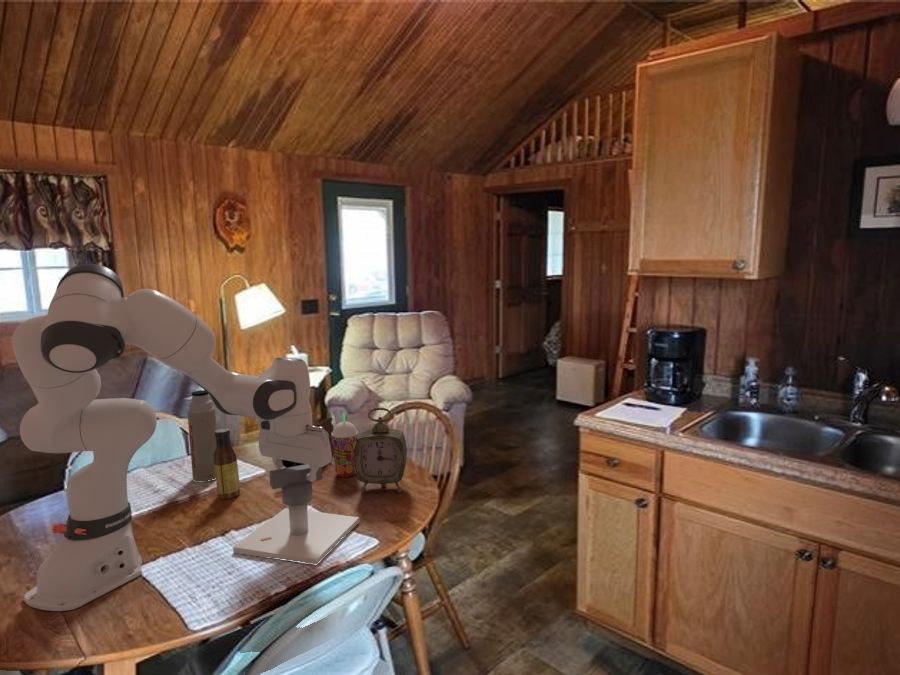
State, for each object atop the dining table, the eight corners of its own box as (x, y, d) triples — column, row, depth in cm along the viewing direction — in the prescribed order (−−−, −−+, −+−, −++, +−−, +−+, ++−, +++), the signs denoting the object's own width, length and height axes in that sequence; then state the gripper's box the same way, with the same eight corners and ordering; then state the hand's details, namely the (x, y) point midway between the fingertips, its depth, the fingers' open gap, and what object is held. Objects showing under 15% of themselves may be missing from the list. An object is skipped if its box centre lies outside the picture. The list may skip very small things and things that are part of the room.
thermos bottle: (193, 484, 178) (185, 395, 174) (192, 475, 185) (185, 390, 181) (220, 479, 181) (214, 392, 177) (219, 471, 189) (213, 387, 185)
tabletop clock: (355, 495, 168) (352, 411, 164) (361, 483, 177) (358, 403, 173) (405, 495, 167) (402, 411, 164) (408, 483, 176) (406, 403, 173)
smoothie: (328, 477, 182) (325, 416, 179) (340, 468, 190) (338, 409, 187) (352, 480, 179) (349, 417, 176) (364, 470, 187) (361, 410, 184)
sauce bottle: (244, 491, 172) (239, 426, 169) (234, 500, 166) (229, 433, 163) (223, 490, 173) (218, 426, 170) (212, 499, 166) (207, 433, 164)
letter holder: (333, 453, 204) (332, 415, 202) (310, 474, 185) (307, 432, 183) (307, 452, 206) (305, 414, 204) (281, 473, 187) (278, 430, 185)
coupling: (317, 489, 148) (315, 459, 147) (325, 499, 142) (324, 468, 140) (269, 499, 142) (267, 468, 141) (275, 510, 136) (273, 478, 135)
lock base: (316, 566, 130) (314, 526, 128) (233, 552, 136) (230, 514, 135) (359, 522, 150) (358, 488, 149) (285, 513, 157) (283, 479, 156)
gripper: (336, 424, 137) (338, 480, 139) (271, 414, 147) (274, 467, 148) (318, 431, 132) (321, 489, 134) (252, 421, 141) (256, 475, 143)
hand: (296, 477), depth 141 cm, fingers open, 8 cm apart
